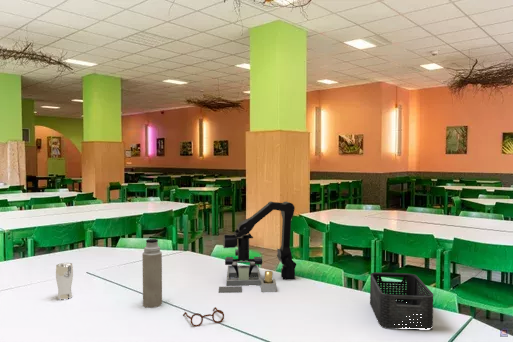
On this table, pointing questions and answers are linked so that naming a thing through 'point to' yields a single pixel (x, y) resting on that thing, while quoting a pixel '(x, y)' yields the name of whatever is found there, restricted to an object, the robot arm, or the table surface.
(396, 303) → the storage bin
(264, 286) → the grey square socket block
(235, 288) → the mat
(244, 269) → the module
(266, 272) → the rod
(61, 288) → the beer glass
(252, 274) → the case
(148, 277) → the thermos bottle
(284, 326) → the table surface
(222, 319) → the glasses
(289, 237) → the robot arm
